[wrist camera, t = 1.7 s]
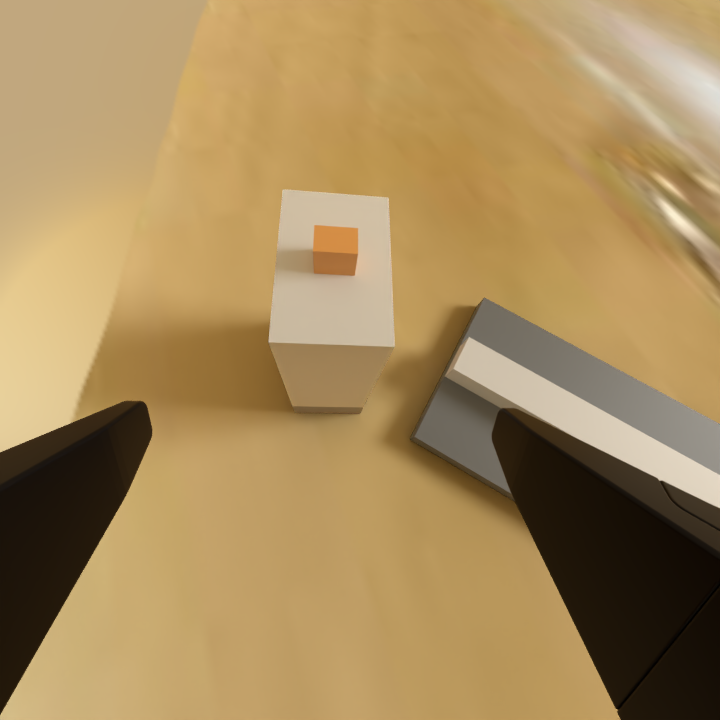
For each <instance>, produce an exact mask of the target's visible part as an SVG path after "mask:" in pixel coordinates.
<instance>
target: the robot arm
mask: <svg viewBox="0 0 720 720" xmlns="http://www.w3.org/2000/svg"><path fill="white" fill-rule="evenodd" d="M151 437H152V426H151V422H150V417H149V413H148V408H147V405H146V404H145V403H144V402H143V401H124V402H121V403H119V404H116V405H114V406H112V407H109V408H107V409H104V410H102V411H99V412H97V413H95V414H92V415H90V416H87V417H85V418H83V419H80V420H78V421H75V422H73V423H70V424H68V425H66V426H63V427H61V428H58V429H56V430H54V431H51V432H49V433H46V434H44V435H41V436H39V437H37V438H34V439H32V440H29V441H27V442H25V443H22V444H20V445H17V446H15V447H12V448H10V449H8V450H5V451H3V452H0V714H1V713H2V711H3V709H4V707H5V706H6V704H7V702H8V700H9V699H10V697H11V695H12V693H13V692H14V690H15V688H16V687H17V685H18V683H19V681H20V680H21V678H22V676H23V674H24V673H25V671H26V669H27V667H28V666H29V664H30V662H31V660H32V659H33V657H34V655H35V653H36V652H37V650H38V648H39V646H40V645H41V643H42V641H43V639H44V638H45V636H46V634H47V633H48V631H49V629H50V627H51V626H52V624H53V622H54V620H55V619H56V617H57V615H58V613H59V612H60V610H61V608H62V606H63V605H64V603H65V601H66V599H67V598H68V596H69V594H70V592H71V591H72V589H73V587H74V585H75V584H76V582H77V580H78V579H79V577H80V575H81V573H82V572H83V570H84V568H85V566H86V565H87V563H88V561H89V559H90V558H91V556H92V554H93V552H94V551H95V549H96V547H97V545H98V544H99V542H100V540H101V538H102V537H103V535H104V533H105V531H106V530H107V528H108V526H109V525H110V523H111V521H112V519H113V518H114V516H115V514H116V512H117V511H118V509H119V507H120V505H121V504H122V502H123V500H124V498H125V496H126V494H127V492H128V490H129V488H130V486H131V484H132V482H133V479H134V477H135V475H136V472H137V470H138V468H139V465H140V463H141V461H142V459H143V456H144V454H145V452H146V449H147V447H148V445H149V443H150V440H151ZM492 443H493V446H494V448H495V451H496V454H497V457H498V459H499V462H500V465H501V468H502V470H503V473H504V476H505V479H506V482H507V484H508V487H509V489H510V492H511V494H512V496H513V498H514V500H515V503H516V505H517V507H518V509H519V511H520V513H521V515H522V517H523V519H524V521H525V523H526V525H527V527H528V529H529V531H530V533H531V535H532V538H533V540H534V542H535V544H536V546H537V548H538V550H539V552H540V554H541V556H542V558H543V560H544V562H545V564H546V566H547V568H548V570H549V572H550V575H551V577H552V579H553V581H554V583H555V585H556V587H557V589H558V591H559V593H560V595H561V597H562V599H563V601H564V603H565V605H566V607H567V609H568V612H569V614H570V616H571V618H572V620H573V622H574V624H575V626H576V628H577V630H578V632H579V634H580V636H581V638H582V640H583V642H584V644H585V646H586V649H587V651H588V653H589V655H590V657H591V659H592V661H593V663H594V665H595V667H596V669H597V671H598V673H599V675H600V677H601V679H602V681H603V684H604V686H605V688H606V690H607V692H608V694H609V696H610V698H611V700H612V702H613V704H614V706H615V708H616V709H617V710H618V711H617V713H618V715H619V717H620V719H621V720H720V508H719V507H716V506H714V505H712V504H710V503H708V502H706V501H704V500H702V499H700V498H697V497H695V496H693V495H691V494H689V493H687V492H685V491H683V490H681V489H679V488H677V487H675V486H673V485H671V484H669V483H667V482H665V481H662V480H661V481H659V479H658V478H656V477H654V476H652V475H650V474H648V473H646V472H644V471H642V470H640V469H638V468H636V467H634V466H632V465H630V464H628V463H626V462H624V461H622V460H620V459H618V458H616V457H614V456H612V455H610V454H608V453H606V452H604V451H602V450H600V449H598V448H596V447H594V446H592V445H590V444H588V443H585V442H583V441H581V440H579V439H577V438H575V437H573V436H571V435H569V434H567V433H565V432H563V431H561V430H559V429H557V428H555V427H553V426H551V425H549V424H547V423H545V422H543V421H541V420H539V419H537V418H535V417H533V416H531V415H529V414H527V413H525V412H523V411H521V410H519V409H516V408H501V409H500V410H499V411H498V413H497V416H496V420H495V423H494V427H493V430H492Z"/></svg>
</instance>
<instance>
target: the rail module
mask: <svg viewBox="0 0 720 720" xmlns="http://www.w3.org/2000/svg"><path fill="white" fill-rule="evenodd" d="M268 343H269V345H270V348H271V351H272V353H273V356H274V359H275V361H276V364H277V367H278V369H279V372H280V375H281V377H282V380H283V383H284V386H285V388H286V391H287V394H288V396H289V399H290V402H291V404H292V407H293V410H294V412H295V413H348V414H360V413H361V411H362V409H363V407H364V405H365V403H366V401H367V399H368V397H369V395H370V393H371V391H372V390H373V388H374V386H375V384H376V382H377V380H378V378H379V376H380V374H381V372H382V370H383V368H384V367H385V365H386V363H387V361H388V359H389V357H390V355H391V353H392V351H393V349H394V347H395V341H394V317H393V293H392V269H391V245H390V221H389V198H387V197H375V196H362V195H349V194H336V193H324V192H311V191H298V190H285V189H283V193H282V203H281V214H280V225H279V235H278V246H277V256H276V267H275V277H274V288H273V298H272V309H271V320H270V330H269V341H268Z"/></svg>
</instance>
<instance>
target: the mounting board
mask: <svg viewBox="0 0 720 720" xmlns="http://www.w3.org/2000/svg"><path fill="white" fill-rule="evenodd" d="M501 408H516V409H519V410H521V411H523V412H525V413H527V414H529V415H531V416H533V417H535V418H537V419H539V420H541V421H543V422H545V423H547V424H549V425H551V426H553V427H555V428H557V429H559V430H561V431H563V432H565V433H567V434H569V435H571V436H573V437H575V438H577V439H579V440H581V441H583V442H585V443H588V444H590V445H592V446H594V447H596V448H598V449H600V450H602V451H604V452H606V453H608V454H610V455H612V456H614V457H616V458H618V459H620V460H622V461H624V462H626V463H628V464H630V465H632V466H634V467H636V468H638V469H640V470H642V471H644V472H646V473H648V474H650V475H652V476H654V477H656V478H658V479H659V481H661V480H662V481H665V482H667V483H669V484H671V485H673V486H675V487H677V488H679V489H681V490H683V491H685V492H687V493H689V494H691V495H693V496H695V497H697V498H700V499H702V500H704V501H706V502H708V503H710V504H712V505H714V506H716V507H719V508H720V424H719V423H717V422H715V421H713V420H711V419H709V418H708V417H706V416H704V415H702V414H700V413H698V412H696V411H695V410H693V409H691V408H689V407H687V406H685V405H683V404H682V403H680V402H678V401H676V400H674V399H672V398H670V397H668V396H667V395H665V394H663V393H661V392H659V391H657V390H655V389H654V388H652V387H650V386H648V385H646V384H644V383H642V382H641V381H639V380H637V379H635V378H633V377H631V376H629V375H628V374H626V373H624V372H622V371H620V370H618V369H616V368H615V367H613V366H611V365H609V364H607V363H605V362H603V361H601V360H600V359H598V358H596V357H594V356H592V355H590V354H588V353H587V352H585V351H583V350H581V349H579V348H577V347H575V346H574V345H572V344H570V343H568V342H566V341H564V340H562V339H561V338H559V337H557V336H555V335H553V334H551V333H549V332H548V331H546V330H544V329H542V328H540V327H538V326H536V325H534V324H533V323H531V322H529V321H527V320H525V319H523V318H521V317H520V316H518V315H516V314H514V313H512V312H510V311H508V310H507V309H505V308H503V307H501V306H499V305H497V304H495V303H494V302H492V301H490V300H488V299H486V298H484V299H483V300H482V301H481V302H480V303H479V304H478V306H477V307H476V309H475V311H474V313H473V315H472V317H471V319H470V321H469V323H468V325H467V327H466V329H465V331H464V333H463V335H462V337H461V339H460V341H459V343H458V345H457V347H456V349H455V351H454V353H453V355H452V357H451V359H450V361H449V363H448V364H447V366H446V368H445V370H444V372H443V374H442V376H441V378H440V380H439V382H438V384H437V386H436V388H435V390H434V392H433V394H432V396H431V398H430V400H429V402H428V404H427V406H426V408H425V410H424V412H423V414H422V416H421V418H420V420H419V422H418V424H417V426H416V428H415V430H414V432H413V434H412V436H411V438H410V440H412V441H413V442H415V443H417V444H418V445H420V446H422V447H424V448H425V449H427V450H429V451H430V452H432V453H434V454H435V455H437V456H439V457H440V458H442V459H444V460H446V461H447V462H449V463H451V464H452V465H454V466H456V467H457V468H459V469H461V470H463V471H464V472H466V473H468V474H469V475H471V476H473V477H474V478H476V479H478V480H479V481H481V482H483V483H485V484H486V485H488V486H490V487H491V488H493V489H495V490H496V491H498V492H500V493H502V494H503V495H505V496H507V497H508V498H510V499H512V500H513V501H515V500H514V498H513V496H512V494H511V492H510V489H509V487H508V484H507V482H506V479H505V476H504V473H503V470H502V468H501V465H500V462H499V459H498V457H497V454H496V451H495V448H494V446H493V443H492V430H493V427H494V423H495V420H496V416H497V413H498V411H499V410H500V409H501Z"/></svg>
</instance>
